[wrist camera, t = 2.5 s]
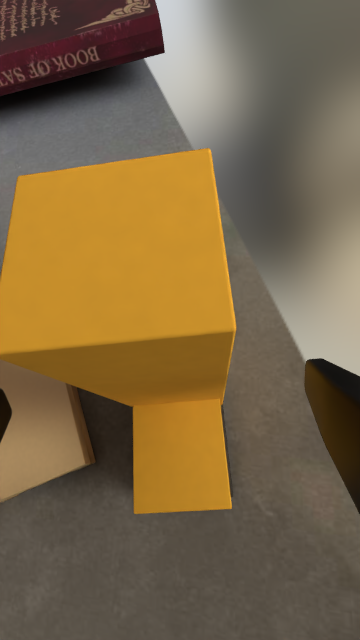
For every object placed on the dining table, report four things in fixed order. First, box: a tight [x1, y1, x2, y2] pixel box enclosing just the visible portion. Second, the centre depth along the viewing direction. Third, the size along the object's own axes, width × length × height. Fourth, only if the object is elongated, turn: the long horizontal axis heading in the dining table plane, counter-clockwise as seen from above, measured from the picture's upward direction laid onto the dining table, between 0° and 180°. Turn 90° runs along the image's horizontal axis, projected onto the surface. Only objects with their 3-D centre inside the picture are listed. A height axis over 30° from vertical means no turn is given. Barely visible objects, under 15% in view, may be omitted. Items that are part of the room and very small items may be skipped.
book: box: [0, 0, 165, 96], centre depth 31 cm, size 28×21×5 cm
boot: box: [0, 148, 236, 514], centre depth 12 cm, size 9×5×14 cm, turn 4°
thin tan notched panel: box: [0, 359, 95, 503], centre depth 19 cm, size 10×6×2 cm, turn 22°
